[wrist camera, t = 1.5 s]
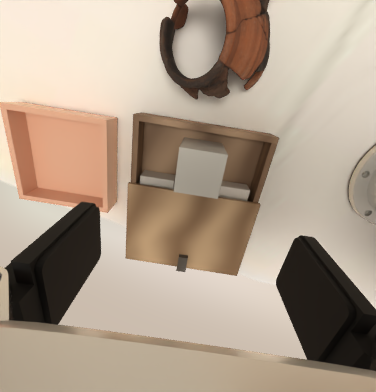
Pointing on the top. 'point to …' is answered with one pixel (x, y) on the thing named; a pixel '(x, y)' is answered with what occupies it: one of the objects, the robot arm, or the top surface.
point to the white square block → (234, 191)
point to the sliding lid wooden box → (193, 196)
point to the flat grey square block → (157, 179)
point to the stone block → (200, 168)
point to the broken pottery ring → (224, 47)
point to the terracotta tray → (62, 154)
